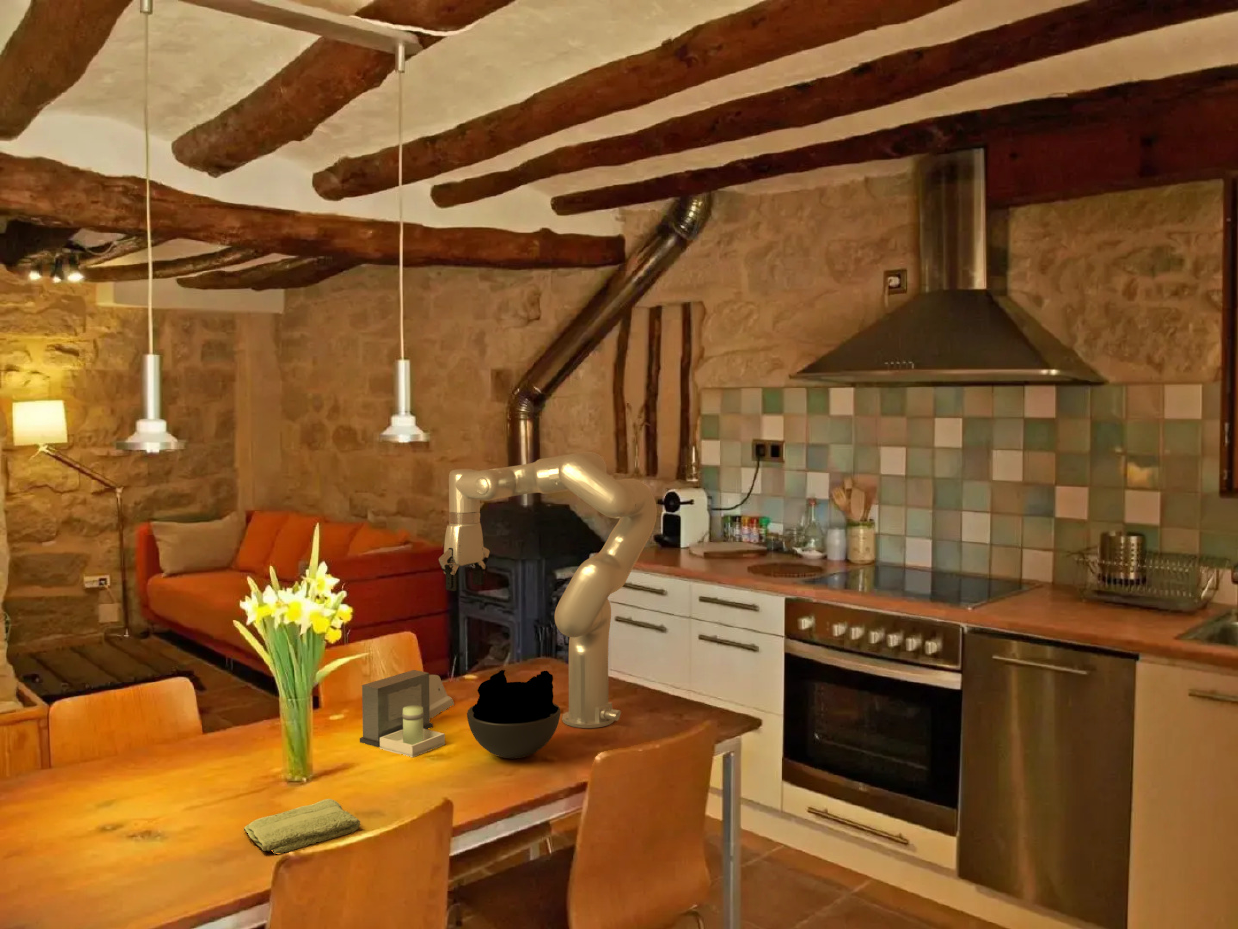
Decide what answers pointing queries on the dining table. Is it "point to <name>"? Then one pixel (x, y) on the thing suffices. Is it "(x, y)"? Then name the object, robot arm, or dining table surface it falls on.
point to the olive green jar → (412, 724)
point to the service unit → (392, 704)
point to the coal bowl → (514, 715)
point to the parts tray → (396, 745)
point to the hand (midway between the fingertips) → (465, 587)
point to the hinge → (438, 696)
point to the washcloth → (302, 826)
